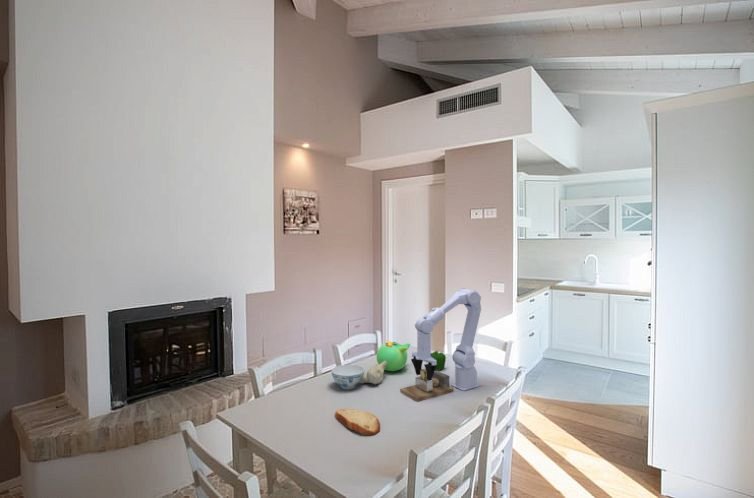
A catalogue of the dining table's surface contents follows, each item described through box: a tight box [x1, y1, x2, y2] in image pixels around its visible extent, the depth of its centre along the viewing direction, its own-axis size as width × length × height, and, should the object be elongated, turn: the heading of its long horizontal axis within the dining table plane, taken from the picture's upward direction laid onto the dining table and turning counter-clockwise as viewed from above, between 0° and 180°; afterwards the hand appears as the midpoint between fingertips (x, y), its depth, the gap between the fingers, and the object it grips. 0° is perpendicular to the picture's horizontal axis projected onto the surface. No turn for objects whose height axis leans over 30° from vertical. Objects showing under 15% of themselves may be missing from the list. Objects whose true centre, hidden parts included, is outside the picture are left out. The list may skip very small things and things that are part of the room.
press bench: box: [399, 370, 454, 403], centre depth 168 cm, size 20×12×6 cm, turn 122°
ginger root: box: [358, 361, 387, 385], centre depth 180 cm, size 15×7×15 cm
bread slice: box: [334, 408, 381, 437], centre depth 139 cm, size 18×18×4 cm
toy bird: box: [376, 340, 411, 372], centre depth 197 cm, size 18×17×15 cm
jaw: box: [414, 368, 433, 392], centre depth 167 cm, size 3×8×8 cm, turn 32°
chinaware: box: [331, 364, 365, 390], centre depth 174 cm, size 15×15×8 cm
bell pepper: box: [431, 350, 447, 371], centre depth 198 cm, size 8×8×10 cm
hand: (423, 377), depth 167 cm, fingers open, 7 cm apart
